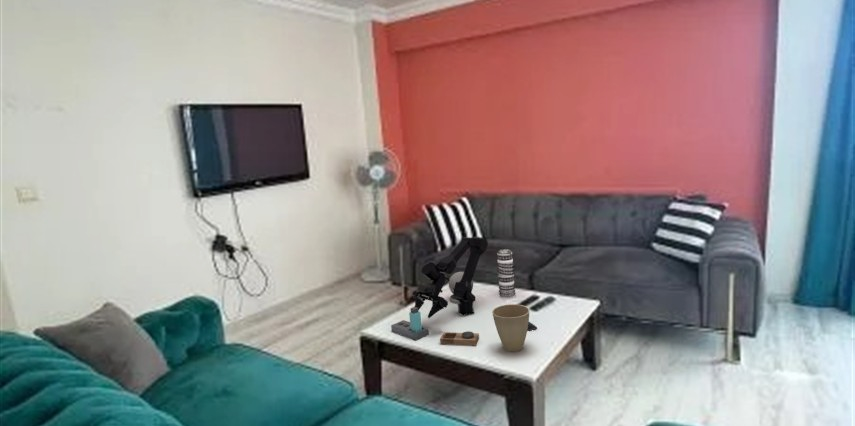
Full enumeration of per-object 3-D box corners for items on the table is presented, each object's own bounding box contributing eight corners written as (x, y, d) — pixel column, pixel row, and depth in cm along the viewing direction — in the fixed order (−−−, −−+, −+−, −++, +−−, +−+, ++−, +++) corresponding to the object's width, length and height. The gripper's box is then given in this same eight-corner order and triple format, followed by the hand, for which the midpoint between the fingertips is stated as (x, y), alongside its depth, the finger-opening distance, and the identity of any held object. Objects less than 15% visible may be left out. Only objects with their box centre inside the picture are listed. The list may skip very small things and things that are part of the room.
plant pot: (523, 337, 216) (521, 302, 213) (537, 352, 202) (535, 314, 199) (490, 343, 214) (487, 307, 211) (501, 358, 199) (498, 319, 197)
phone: (522, 331, 221) (506, 319, 235) (522, 333, 221) (506, 321, 235) (538, 327, 223) (522, 316, 237) (538, 330, 223) (522, 318, 238)
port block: (404, 326, 240) (403, 319, 240) (428, 334, 228) (428, 328, 227) (391, 331, 235) (391, 324, 235) (416, 340, 223) (415, 333, 222)
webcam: (475, 295, 274) (474, 268, 271) (472, 303, 261) (470, 275, 259) (452, 295, 277) (450, 268, 274) (447, 303, 264) (445, 276, 262)
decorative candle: (494, 297, 268) (491, 251, 263) (506, 292, 274) (503, 247, 270) (508, 300, 261) (505, 253, 257) (519, 295, 267) (517, 249, 263)
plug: (417, 333, 230) (414, 306, 228) (422, 335, 228) (419, 307, 226) (411, 336, 228) (408, 308, 226) (416, 337, 226) (414, 310, 223)
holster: (444, 337, 223) (443, 329, 223) (479, 338, 219) (478, 330, 218) (440, 344, 217) (439, 336, 216) (476, 346, 212) (475, 337, 212)
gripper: (412, 273, 236) (397, 303, 231) (441, 280, 223) (425, 311, 217) (426, 284, 243) (411, 314, 238) (454, 291, 230) (439, 323, 224)
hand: (421, 315), depth 229 cm, fingers open, 9 cm apart
